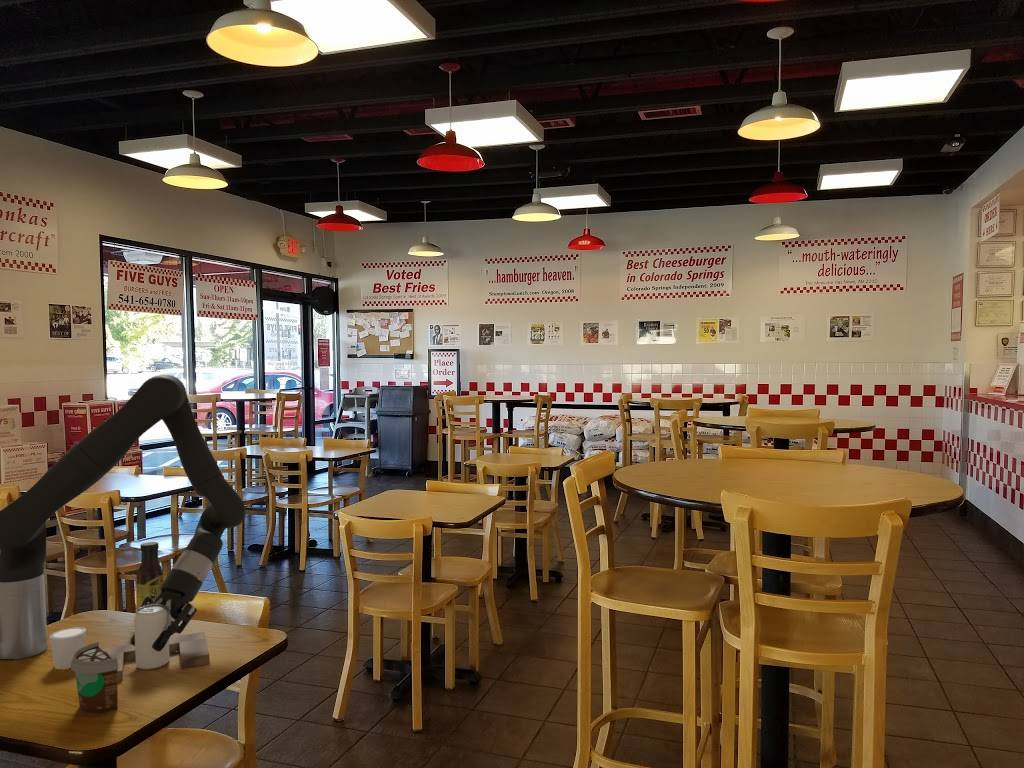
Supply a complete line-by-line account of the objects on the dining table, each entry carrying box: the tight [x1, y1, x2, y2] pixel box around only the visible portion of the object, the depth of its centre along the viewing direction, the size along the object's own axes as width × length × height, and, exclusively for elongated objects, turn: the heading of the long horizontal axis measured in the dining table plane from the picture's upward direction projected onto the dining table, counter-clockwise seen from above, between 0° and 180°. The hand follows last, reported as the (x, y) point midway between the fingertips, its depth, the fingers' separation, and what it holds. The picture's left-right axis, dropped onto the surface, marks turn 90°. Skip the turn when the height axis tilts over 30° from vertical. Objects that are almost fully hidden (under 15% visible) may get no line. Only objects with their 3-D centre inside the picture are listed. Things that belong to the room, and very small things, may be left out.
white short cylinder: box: [49, 626, 87, 670], centre depth 160 cm, size 7×7×7 cm
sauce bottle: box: [135, 541, 165, 610], centre depth 184 cm, size 7×6×20 cm
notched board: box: [100, 631, 211, 682], centre depth 161 cm, size 22×15×2 cm
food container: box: [70, 641, 119, 714], centre depth 140 cm, size 12×6×10 cm, turn 45°
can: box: [133, 604, 170, 671], centre depth 159 cm, size 6×6×12 cm
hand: (145, 647), depth 157 cm, fingers closed on can, 6 cm apart
